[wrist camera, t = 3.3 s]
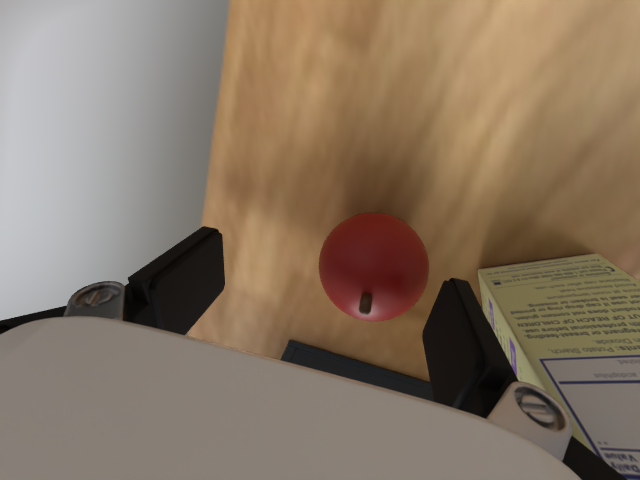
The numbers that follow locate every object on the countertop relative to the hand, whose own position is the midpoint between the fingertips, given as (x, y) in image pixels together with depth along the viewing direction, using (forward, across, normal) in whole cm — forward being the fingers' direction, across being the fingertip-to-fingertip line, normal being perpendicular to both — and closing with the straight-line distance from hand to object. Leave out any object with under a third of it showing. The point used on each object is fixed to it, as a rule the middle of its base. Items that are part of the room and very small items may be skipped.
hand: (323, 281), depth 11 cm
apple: (+6, -2, +1) cm, 6 cm away
